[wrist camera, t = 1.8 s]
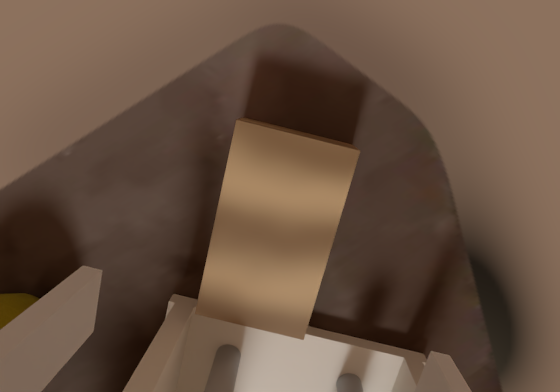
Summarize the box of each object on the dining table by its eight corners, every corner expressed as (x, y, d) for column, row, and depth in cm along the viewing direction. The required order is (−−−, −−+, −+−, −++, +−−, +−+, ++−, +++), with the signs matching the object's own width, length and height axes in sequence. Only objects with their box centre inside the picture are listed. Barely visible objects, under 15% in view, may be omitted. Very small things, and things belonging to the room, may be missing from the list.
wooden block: (302, 310, 31) (303, 340, 28) (207, 287, 31) (194, 313, 27) (351, 143, 28) (360, 150, 24) (244, 116, 28) (236, 119, 24)
